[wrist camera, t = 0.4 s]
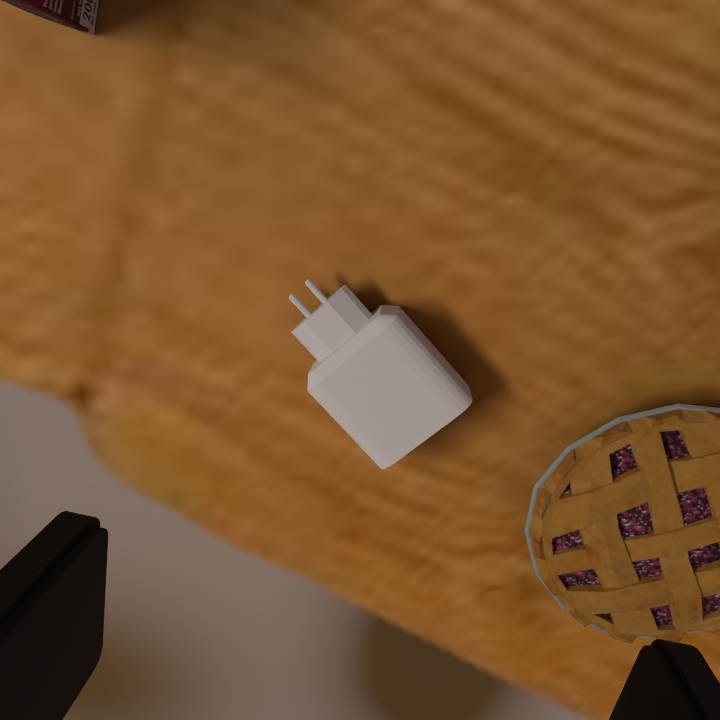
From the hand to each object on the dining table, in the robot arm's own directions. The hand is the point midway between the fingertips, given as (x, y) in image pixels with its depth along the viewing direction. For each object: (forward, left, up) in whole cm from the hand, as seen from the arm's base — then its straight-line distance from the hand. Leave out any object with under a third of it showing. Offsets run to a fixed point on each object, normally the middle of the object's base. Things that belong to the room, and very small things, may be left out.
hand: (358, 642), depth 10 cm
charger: (+4, -5, -36) cm, 37 cm away
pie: (+28, +10, -36) cm, 47 cm away
